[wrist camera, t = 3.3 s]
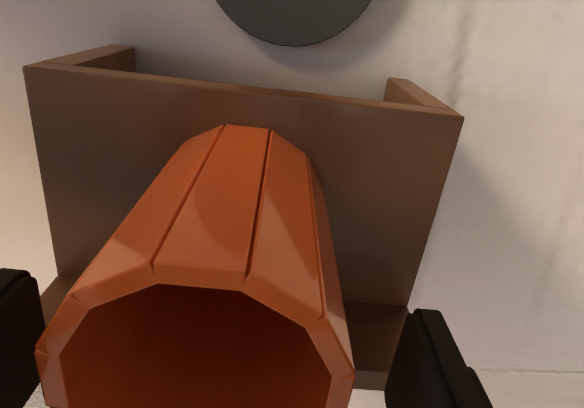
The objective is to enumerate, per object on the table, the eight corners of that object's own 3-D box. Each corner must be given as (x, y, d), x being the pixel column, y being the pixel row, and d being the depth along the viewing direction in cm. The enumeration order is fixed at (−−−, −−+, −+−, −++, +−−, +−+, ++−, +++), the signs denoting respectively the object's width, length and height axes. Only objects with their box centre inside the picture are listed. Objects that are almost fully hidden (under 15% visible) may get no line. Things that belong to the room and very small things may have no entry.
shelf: (111, 44, 21) (-70, 87, 11) (409, 79, 22) (520, 152, 12) (124, 212, 26) (5, 362, 15) (372, 236, 27) (428, 395, 16)
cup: (159, 116, 15) (8, 249, 7) (333, 135, 15) (381, 282, 7) (163, 262, 18) (60, 474, 10) (310, 275, 18) (326, 492, 10)
